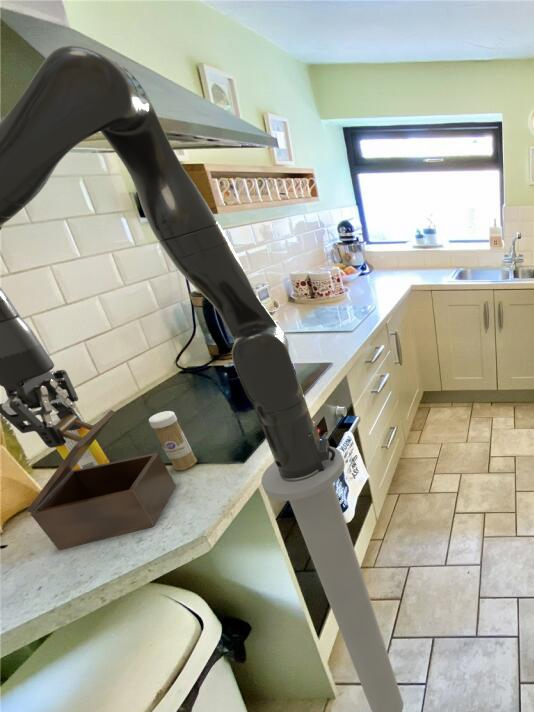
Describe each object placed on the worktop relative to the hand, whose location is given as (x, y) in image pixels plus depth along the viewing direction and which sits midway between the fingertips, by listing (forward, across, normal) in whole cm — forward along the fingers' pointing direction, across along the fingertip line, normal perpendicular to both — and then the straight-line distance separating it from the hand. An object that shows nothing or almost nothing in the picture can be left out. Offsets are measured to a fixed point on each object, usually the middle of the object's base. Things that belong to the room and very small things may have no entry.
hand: (67, 436), depth 74 cm
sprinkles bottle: (+19, +14, -7) cm, 25 cm away
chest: (+19, 0, 0) cm, 19 cm away
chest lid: (+5, 0, +1) cm, 5 cm away
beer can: (+19, +20, +13) cm, 30 cm away
